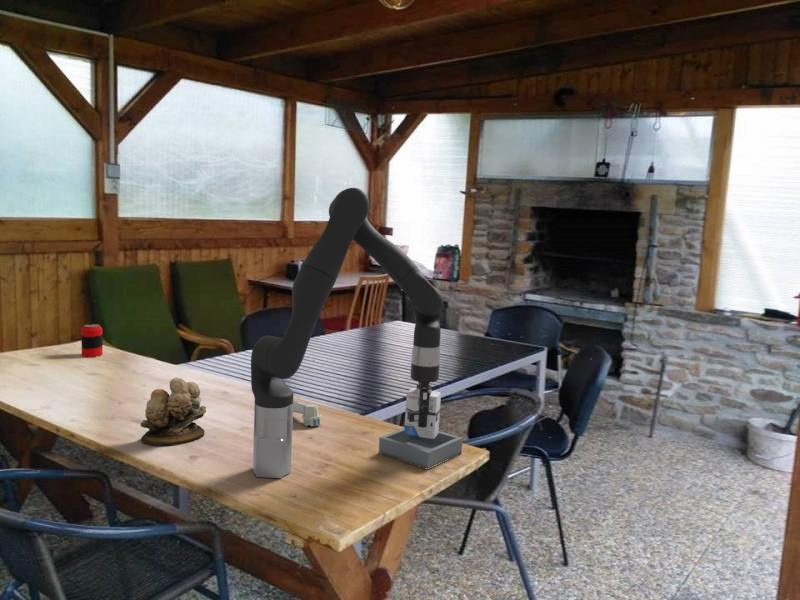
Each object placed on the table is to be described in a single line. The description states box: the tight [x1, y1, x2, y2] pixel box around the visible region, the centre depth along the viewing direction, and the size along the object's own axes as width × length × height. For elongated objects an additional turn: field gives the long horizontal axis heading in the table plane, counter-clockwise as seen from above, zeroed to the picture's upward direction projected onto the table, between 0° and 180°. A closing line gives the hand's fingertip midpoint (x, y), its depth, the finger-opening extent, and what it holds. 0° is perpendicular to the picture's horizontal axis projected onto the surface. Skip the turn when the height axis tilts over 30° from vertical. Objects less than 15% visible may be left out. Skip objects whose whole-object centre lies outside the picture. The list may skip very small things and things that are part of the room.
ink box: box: [404, 387, 442, 439], centre depth 188 cm, size 8×5×12 cm, turn 73°
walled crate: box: [378, 427, 463, 470], centre depth 189 cm, size 16×16×4 cm
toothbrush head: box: [293, 399, 322, 427], centre depth 215 cm, size 5×7×25 cm
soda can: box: [80, 323, 104, 358], centre depth 276 cm, size 8×8×12 cm
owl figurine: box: [140, 377, 207, 447], centre depth 190 cm, size 18×12×17 cm, turn 133°
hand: (421, 422), depth 188 cm, fingers closed on ink box, 6 cm apart
